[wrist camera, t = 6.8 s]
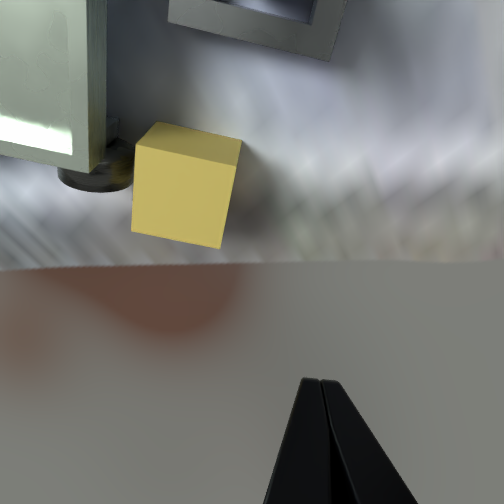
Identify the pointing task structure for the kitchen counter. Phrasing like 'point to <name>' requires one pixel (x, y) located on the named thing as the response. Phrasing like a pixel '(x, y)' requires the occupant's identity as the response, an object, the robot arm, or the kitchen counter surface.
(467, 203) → the kitchen counter surface
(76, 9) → the trolley
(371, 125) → the kitchen counter surface
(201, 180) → the block
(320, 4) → the socket
